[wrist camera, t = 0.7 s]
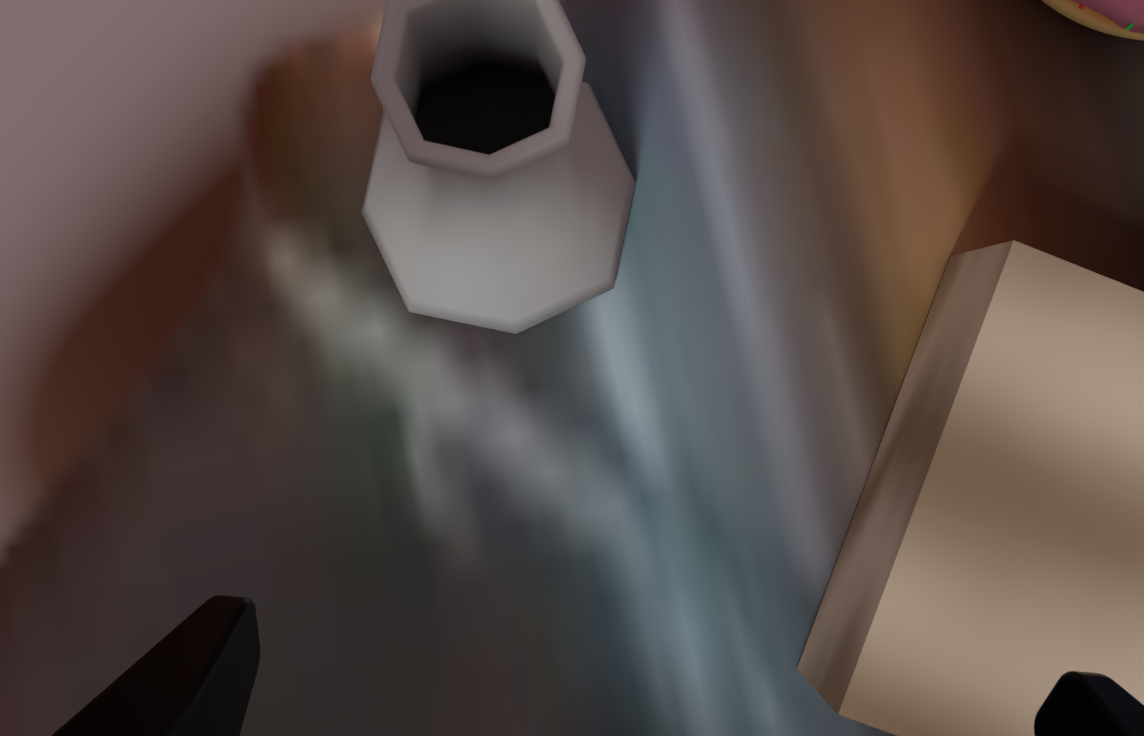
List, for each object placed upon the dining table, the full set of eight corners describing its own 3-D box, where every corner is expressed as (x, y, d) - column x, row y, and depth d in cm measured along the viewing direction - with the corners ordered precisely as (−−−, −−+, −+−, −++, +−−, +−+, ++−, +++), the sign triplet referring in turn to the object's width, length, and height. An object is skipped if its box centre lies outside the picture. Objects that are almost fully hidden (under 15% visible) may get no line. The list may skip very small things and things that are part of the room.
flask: (380, 350, 22) (260, 339, 12) (346, 77, 22) (199, -158, 12) (649, 319, 23) (747, 284, 13) (618, 50, 22) (691, -199, 12)
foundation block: (1095, 776, 23) (1179, 837, 20) (797, 668, 23) (838, 714, 20) (1242, 371, 23) (1347, 373, 20) (950, 256, 23) (1013, 240, 20)
